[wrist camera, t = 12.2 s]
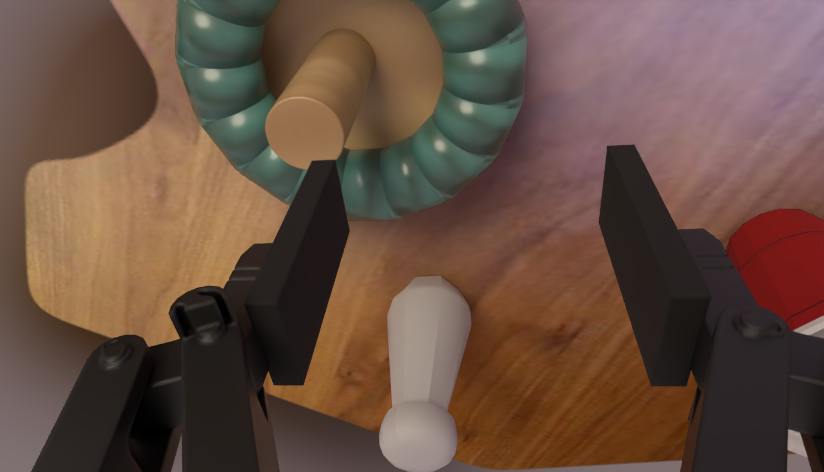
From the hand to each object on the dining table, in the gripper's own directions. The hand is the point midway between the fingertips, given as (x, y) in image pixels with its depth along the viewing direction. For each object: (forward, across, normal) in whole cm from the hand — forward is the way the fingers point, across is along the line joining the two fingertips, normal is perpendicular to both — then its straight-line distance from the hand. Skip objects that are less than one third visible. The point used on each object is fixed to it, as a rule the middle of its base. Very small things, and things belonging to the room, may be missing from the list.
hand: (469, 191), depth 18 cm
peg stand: (+15, -6, 0) cm, 17 cm away
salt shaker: (+15, -4, -18) cm, 24 cm away
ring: (+12, -6, 0) cm, 13 cm away
